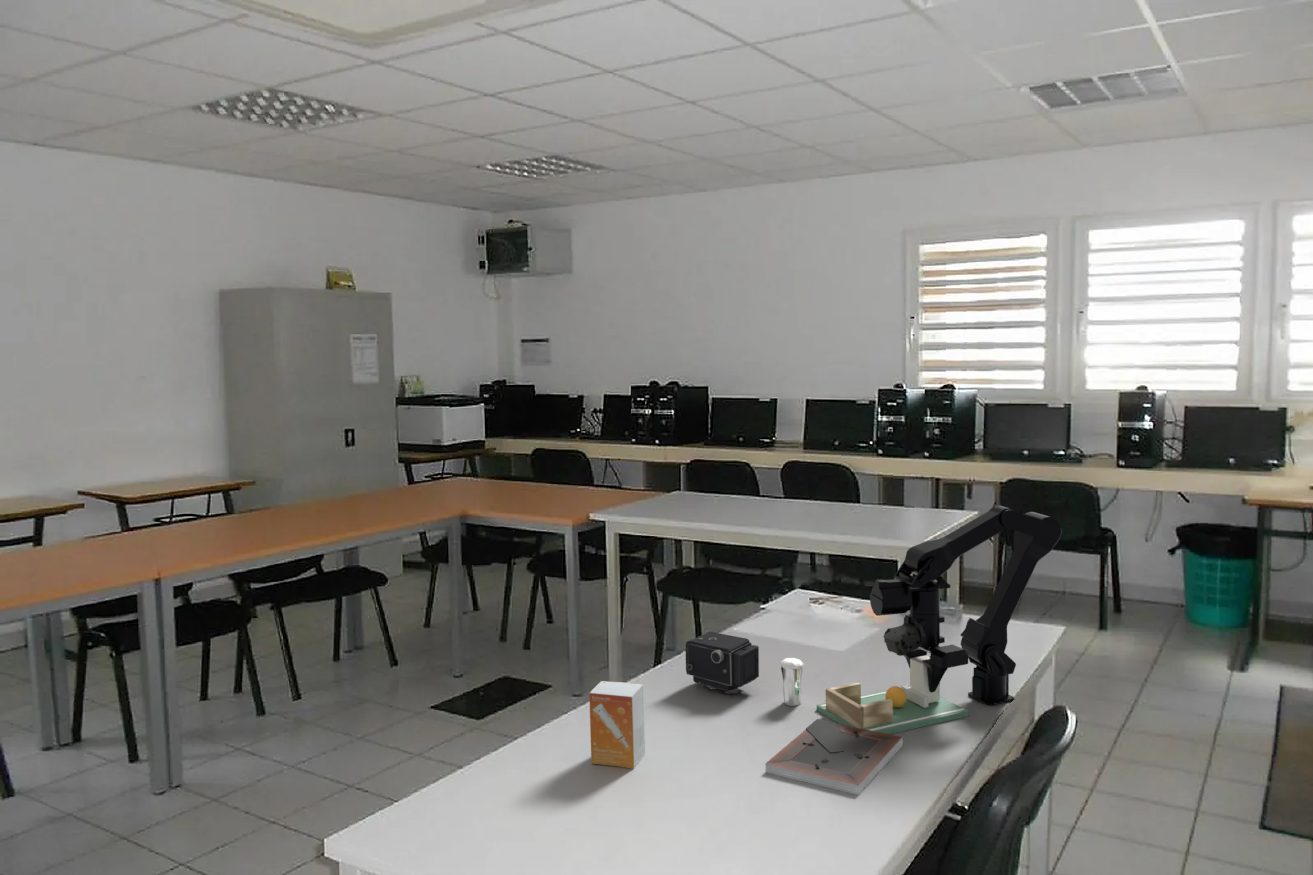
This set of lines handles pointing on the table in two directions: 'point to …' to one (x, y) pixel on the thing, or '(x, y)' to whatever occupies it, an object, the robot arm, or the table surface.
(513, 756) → the table surface
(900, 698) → the ball
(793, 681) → the milkshake
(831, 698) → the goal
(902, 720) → the board
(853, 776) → the book
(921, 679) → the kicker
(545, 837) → the table surface
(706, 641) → the camera
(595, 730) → the small box
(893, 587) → the robot arm
